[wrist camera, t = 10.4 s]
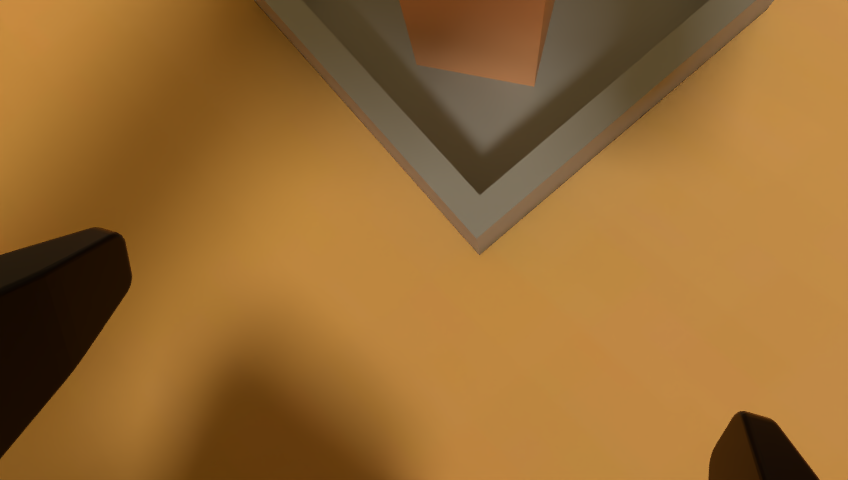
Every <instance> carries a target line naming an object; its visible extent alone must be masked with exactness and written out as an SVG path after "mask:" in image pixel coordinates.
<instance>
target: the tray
mask: <svg viewBox="0 0 848 480" xmlns="http://www.w3.org/2000/svg"><path fill="white" fill-rule="evenodd" d="M254 1H255V2H256V3H257V4H258V5H259V6H260V8H261V9H262V10H263V11H264V12H265V13H266V14H267V15H268V17H269V18H270V19H271V20H272V21H273V22H274V23H275V24H276V26H277V27H278V28H279V29H280V30H281V31H282V32H283V34H284V35H285V36H286V37H287V38H288V39H289V40H290V41H291V43H292V44H293V45H294V46H295V47H296V48H297V49H298V50H299V52H300V53H301V54H302V55H303V56H304V57H305V58H306V60H307V61H308V62H309V63H310V64H311V65H312V66H313V67H314V69H315V70H316V71H317V72H318V73H319V74H320V75H321V76H322V78H323V79H324V80H325V81H326V82H327V83H328V84H329V86H330V87H331V88H332V89H333V90H334V91H335V92H336V93H337V95H338V96H339V97H340V98H341V99H342V100H343V101H344V102H345V104H346V105H347V106H348V107H349V108H350V109H351V110H352V112H353V113H354V114H355V115H356V116H357V117H358V118H359V119H360V121H361V122H362V123H363V124H364V125H365V126H366V127H367V128H368V130H369V131H370V132H371V133H372V134H373V135H374V136H375V138H376V139H377V140H378V141H379V142H380V143H381V144H382V145H383V147H384V148H385V149H386V150H387V151H388V152H389V153H390V154H391V156H392V157H393V158H394V159H395V160H396V161H397V162H398V164H399V165H400V166H401V167H402V168H403V169H404V170H405V171H406V173H407V174H408V175H409V176H410V177H411V178H412V179H413V181H414V182H415V183H416V184H417V185H418V186H419V187H420V188H421V190H422V191H423V192H424V193H425V194H426V195H427V196H428V197H429V199H430V200H431V201H432V202H433V203H434V204H435V205H436V207H437V208H438V209H439V210H440V211H441V212H442V213H443V214H444V216H445V217H446V218H447V219H448V220H449V221H450V222H451V223H452V225H453V226H454V227H455V228H456V229H457V230H458V231H459V233H460V234H461V235H462V236H463V237H464V238H465V239H466V240H467V242H468V243H469V244H470V245H471V246H472V247H473V248H474V249H475V251H476V252H477V253H478V254H479V255H480V254H481V253H482V252H483V251H485V250H486V249H487V248H488V247H489V246H491V245H492V244H493V243H494V242H495V241H496V240H498V239H499V238H500V237H501V236H502V235H503V234H505V233H506V232H507V231H508V230H509V229H510V228H512V227H513V226H514V225H515V224H516V223H517V222H519V221H520V220H521V219H522V218H523V217H524V216H526V215H527V214H528V213H529V212H530V211H531V210H533V209H534V208H535V207H536V206H537V205H539V204H540V203H541V202H542V201H543V200H544V199H546V198H547V197H548V196H549V195H550V194H551V193H553V192H554V191H555V190H556V189H557V188H558V187H560V186H561V185H562V184H563V183H564V182H565V181H567V180H568V179H569V178H570V177H571V176H572V175H574V174H575V173H576V172H577V171H578V170H579V169H581V168H582V167H583V166H584V165H585V164H586V163H588V162H589V161H590V160H591V159H592V158H594V157H595V156H596V155H597V154H598V153H599V152H601V151H602V150H603V149H604V148H605V147H606V146H608V145H609V144H610V143H611V142H612V141H613V140H615V139H616V138H617V137H618V136H619V135H620V134H622V133H623V132H624V131H625V130H626V129H627V128H629V127H630V126H631V125H632V124H633V123H634V122H636V121H637V120H638V119H639V118H640V117H641V116H643V115H644V114H645V113H646V112H647V111H649V110H650V109H651V108H652V107H653V106H654V105H656V104H657V103H658V102H659V101H660V100H661V99H663V98H664V97H665V96H666V95H667V94H668V93H670V92H671V91H672V90H673V89H674V88H675V87H677V86H678V85H679V84H680V83H681V82H682V81H684V80H685V79H686V78H687V77H688V76H689V75H691V74H692V73H693V72H694V71H695V70H696V69H698V68H699V67H700V66H701V65H702V64H704V63H705V62H706V61H707V60H708V59H709V58H711V57H712V56H713V55H714V54H715V53H716V52H718V51H719V50H720V49H721V48H722V47H723V46H725V45H726V44H727V43H728V42H729V41H730V40H732V39H733V38H734V37H735V36H736V35H737V34H739V33H740V32H741V31H742V30H743V29H744V28H746V27H747V26H748V25H749V24H750V23H752V22H753V21H754V20H755V19H756V18H757V17H759V16H760V15H761V14H762V13H763V12H764V11H766V10H767V9H768V7H769V6H770V5H771V3H772V2H773V1H774V0H555V2H554V7H553V11H552V15H551V19H550V23H549V27H548V32H547V36H546V40H545V44H544V48H543V52H542V57H541V61H540V65H539V69H538V73H537V78H536V82H535V86H534V87H533V86H527V85H522V84H517V83H511V82H506V81H501V80H495V79H490V78H485V77H479V76H474V75H469V74H463V73H458V72H452V71H447V70H442V69H436V68H431V67H426V66H420V65H417V64H416V60H415V57H414V53H413V49H412V46H411V42H410V38H409V35H408V31H407V27H406V24H405V20H404V16H403V13H402V9H401V5H400V2H399V0H254Z"/></svg>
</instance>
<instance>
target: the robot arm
mask: <svg viewBox="0 0 848 480" xmlns="http://www.w3.org/2000/svg"><path fill="white" fill-rule="evenodd" d="M131 281H132V272H131V267H130V262H129V257H128V252H127V247H126V242H125V239H124V238H123V237H122V235H120V234H119V233H117V232H113V231H110V230H106V229H103V228H97V227H94V228H89V229H86V230H83V231H79V232H76V233H73V234H69V235H66V236H62V237H59V238H56V239H52V240H49V241H46V242H42V243H39V244H36V245H32V246H29V247H25V248H22V249H19V250H15V251H12V252H9V253H5V254H2V255H0V458H1V457H2V456H3V455H4V454H5V452H6V451H7V450H8V449H9V448H10V446H11V445H12V444H13V443H14V442H15V440H16V439H17V438H18V437H19V436H20V434H21V433H22V432H23V431H24V430H25V429H26V427H27V426H28V425H29V424H30V423H31V421H32V420H33V419H34V418H35V417H36V415H37V414H38V413H39V412H40V411H41V409H42V408H43V407H44V406H45V405H46V403H47V402H48V401H49V400H50V399H51V397H52V396H53V395H54V394H55V393H56V391H57V390H58V389H59V388H60V387H61V386H62V384H63V383H64V382H65V381H66V379H67V378H68V377H69V376H70V374H71V373H72V372H73V371H74V369H75V368H76V366H77V365H78V364H79V362H80V361H81V359H82V358H83V357H84V355H85V354H86V352H87V351H88V349H89V348H90V346H91V345H92V343H93V342H94V340H95V339H96V338H97V336H98V335H99V333H100V332H101V330H102V329H103V327H104V326H105V324H106V323H107V321H108V320H109V318H110V317H111V315H112V314H113V312H114V311H115V310H116V308H117V307H118V305H119V304H120V302H121V301H122V299H123V298H124V296H125V295H126V293H127V292H128V290H129V288H130V285H131ZM709 480H819V478H818V477H817V476H816V474H815V473H814V472H813V470H812V469H811V468H810V466H809V465H808V464H807V462H806V461H805V460H804V458H803V457H802V456H801V455H800V453H799V452H798V451H797V449H796V448H795V447H794V445H793V444H792V443H791V441H790V440H789V439H788V437H787V436H786V435H785V433H784V432H783V431H782V430H781V428H780V427H779V426H778V424H777V423H776V422H775V421H773V420H772V419H770V418H767V417H764V416H760V415H757V414H753V413H750V412H746V411H740V412H738V413H736V414H735V415H734V417H733V418H732V419H731V421H730V423H729V424H728V426H727V428H726V429H725V431H724V433H723V434H722V436H721V437H720V439H719V441H718V442H717V444H716V446H715V447H714V449H713V452H712V454H711V458H710V464H709Z"/></svg>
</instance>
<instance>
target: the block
mask: <svg viewBox="0 0 848 480" xmlns="http://www.w3.org/2000/svg"><path fill="white" fill-rule="evenodd" d="M399 2H400V5H401V9H402V13H403V16H404V20H405V24H406V27H407V31H408V35H409V38H410V42H411V46H412V49H413V53H414V57H415V60H416V64H417V65H420V66H426V67H431V68H436V69H442V70H447V71H452V72H458V73H463V74H469V75H474V76H479V77H485V78H490V79H495V80H501V81H506V82H511V83H517V84H522V85H527V86H533V87H534V86H535V82H536V78H537V73H538V69H539V65H540V61H541V57H542V52H543V48H544V44H545V40H546V36H547V32H548V27H549V23H550V19H551V15H552V11H553V7H554V2H555V0H399Z"/></svg>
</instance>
